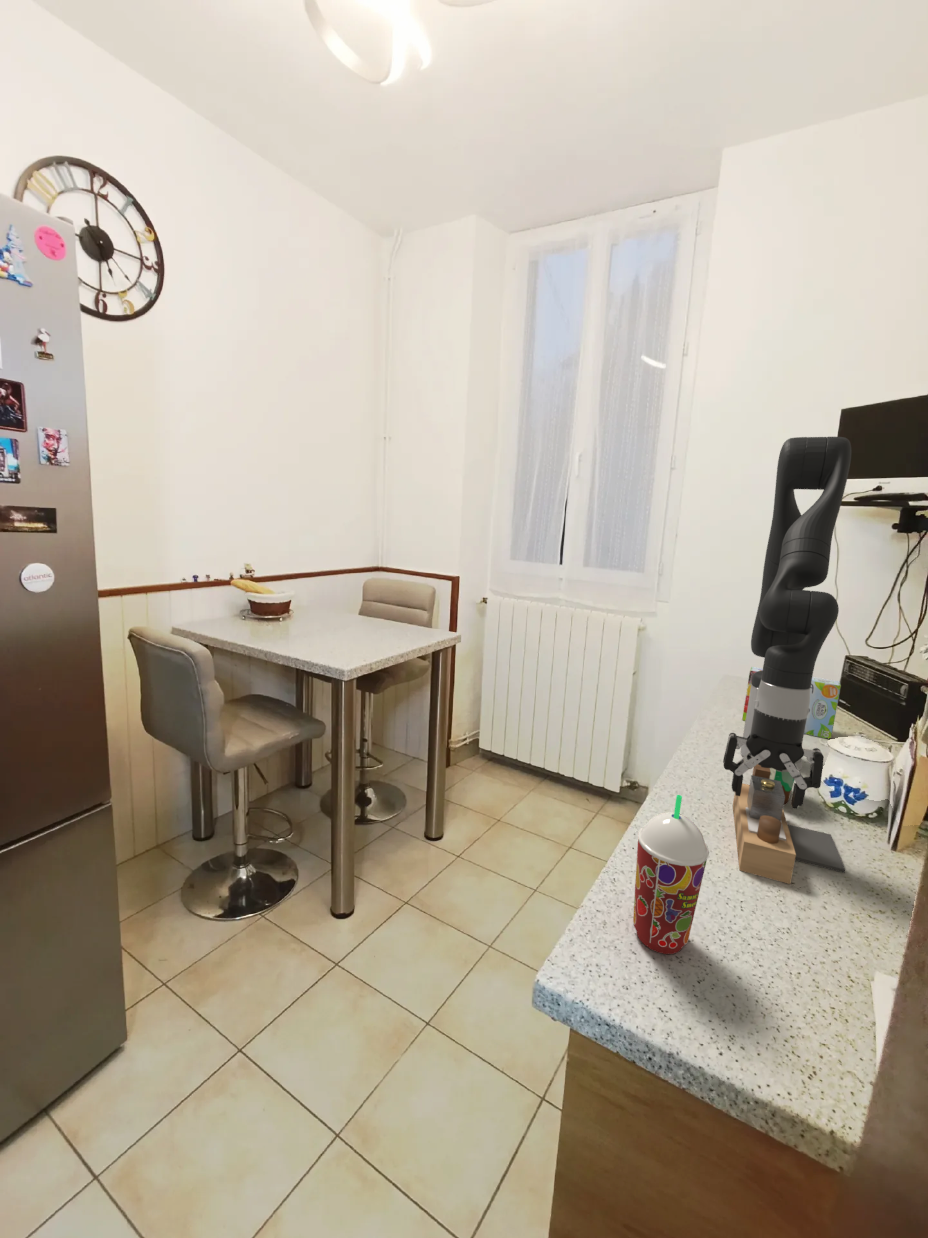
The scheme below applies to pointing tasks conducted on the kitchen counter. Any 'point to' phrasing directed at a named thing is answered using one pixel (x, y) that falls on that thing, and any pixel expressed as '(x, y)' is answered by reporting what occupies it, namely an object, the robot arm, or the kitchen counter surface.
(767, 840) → the plane body
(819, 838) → the mat
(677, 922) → the smoothie
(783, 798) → the grey box
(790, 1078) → the kitchen counter surface
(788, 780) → the food container
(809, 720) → the snack box
